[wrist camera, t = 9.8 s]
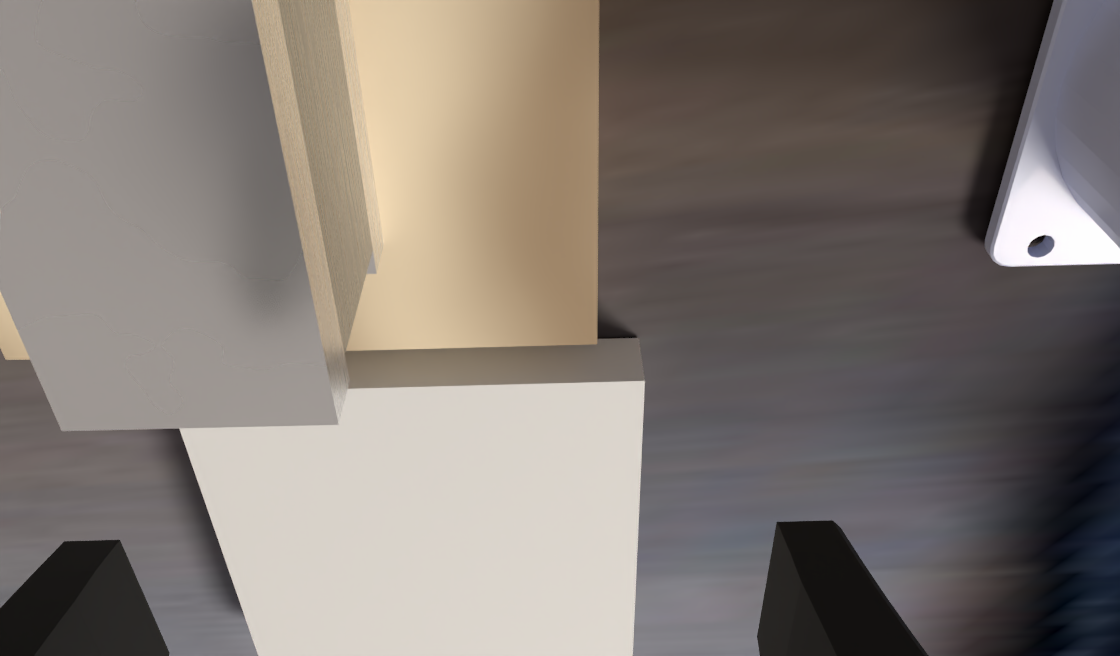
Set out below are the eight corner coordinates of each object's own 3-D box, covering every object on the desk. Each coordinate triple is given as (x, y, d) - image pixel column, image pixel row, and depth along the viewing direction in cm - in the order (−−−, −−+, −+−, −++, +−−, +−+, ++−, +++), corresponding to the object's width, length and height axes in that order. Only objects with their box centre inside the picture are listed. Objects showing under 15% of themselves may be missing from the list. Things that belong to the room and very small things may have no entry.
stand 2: (638, 337, 21) (644, 380, 20) (628, 617, 27) (632, 664, 26) (188, 349, 21) (166, 393, 20) (276, 627, 27) (264, 673, 26)
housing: (383, 244, 18) (338, 425, 14) (169, 249, 18) (61, 431, 14) (323, -174, 14) (232, -91, 10) (43, -169, 14) (-166, -83, 10)
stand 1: (595, -398, 13) (601, -401, 12) (593, 302, 20) (597, 344, 19) (-260, -378, 13) (-340, -378, 12) (37, 316, 20) (5, 359, 19)
